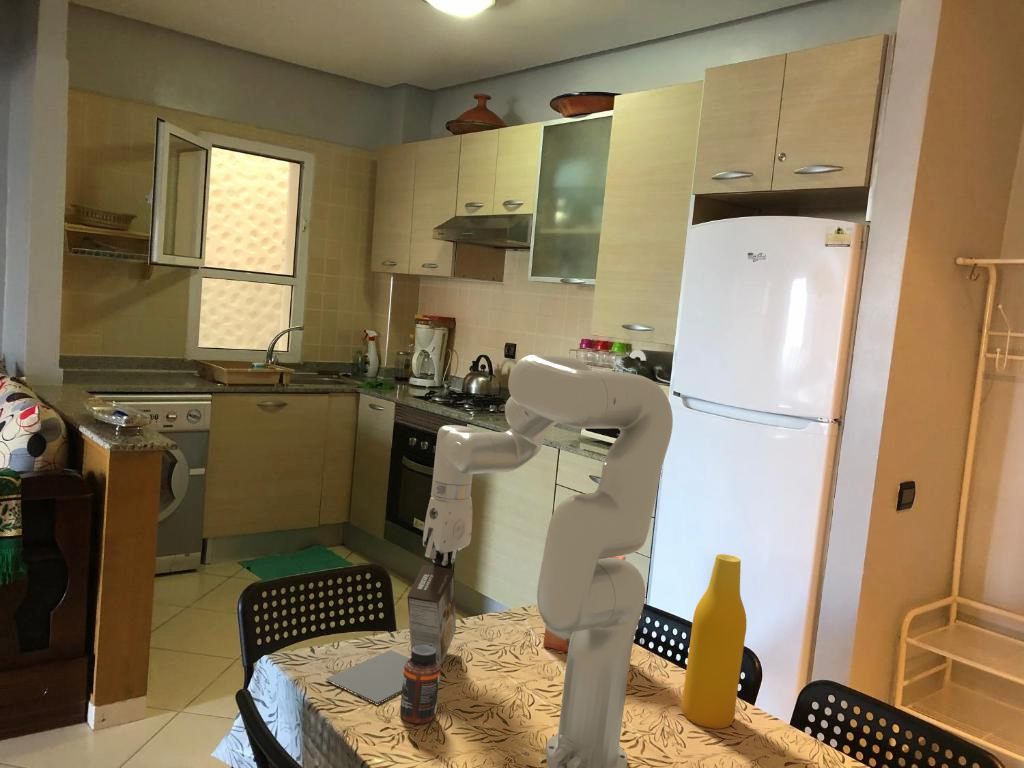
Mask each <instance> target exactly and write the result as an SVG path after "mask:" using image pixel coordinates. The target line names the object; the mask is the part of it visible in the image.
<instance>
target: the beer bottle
mask: <svg viewBox="0 0 1024 768" xmlns="http://www.w3.org/2000/svg"><path fill="white" fill-rule="evenodd" d="M746 633H747V614H746V610H745V607H744V604H743V601H742V598H741V558H739V557H736V556H734V555H730V554H724V553H723V554H722V553H721V554H716V555H715V560H714V563H713V568H712V571H711V576H710V579H709V583H708V585H707V589H706V591H705V592H704V594H702V597H701V598H700V599H699V600H698V603H697V604H696V606H695V609H694V613H693V618H692V625H691V634H690V638H689V639H690V641H689V647H688V655H687V664H686V670H685V679H684V686H683V692H682V696H681V697H682V698H681V706H680V707H681V712H682V714H683V716H684V717H685V718H686V719H688V720H689V721H690V722H692V723H694V724H695V725H698V726H701V727H705V728H709V729H714V730H715V729H716V730H717V729H724V728H728V727H729V726H731V724H733V722H734V719H735V715H736V705H737V697H738V691H739V683H740V676H741V667H742V662H743V654H744V646H745V639H746Z"/></svg>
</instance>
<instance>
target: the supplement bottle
mask: <svg viewBox="0 0 1024 768" xmlns="http://www.w3.org/2000/svg"><path fill="white" fill-rule="evenodd" d="M409 658H410V659H409V660H407V661H406V663H405V666H404V674H403V685H402V693H401V696H400V697H401V698H400V705H399V706H400V707H399V715H400V717H401V718H402V719H403V720H404V721H406V722H408V723H411V724H418V725H420V724H421V725H422V724H425V723H426V724H427V723H430V722H431V721H433V720H434V719H435V717H436V715H437V709H438V708H437V707H438V699H439V697H438V696H439V687H440V676H441V664H439V663H438V661H436V659H435V658H436V649H435V648H433V647H432V646H428V645H418V646H415V647H413V648H412V653H411V655H410V657H409Z"/></svg>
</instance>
